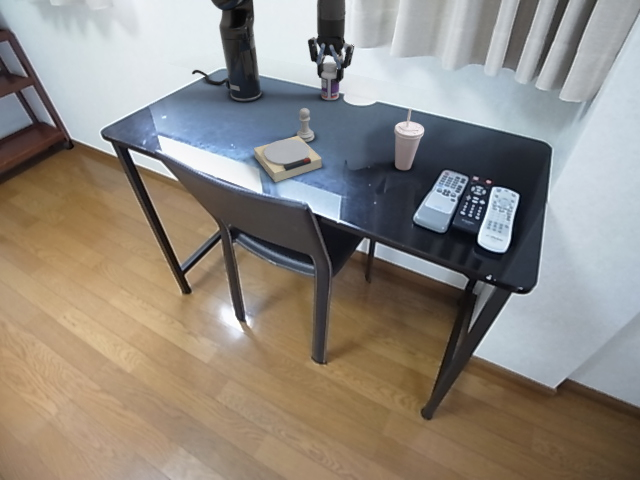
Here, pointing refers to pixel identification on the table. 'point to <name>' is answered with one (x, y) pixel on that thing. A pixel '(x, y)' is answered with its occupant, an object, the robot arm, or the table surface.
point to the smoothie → (407, 142)
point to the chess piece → (305, 126)
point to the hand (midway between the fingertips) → (330, 79)
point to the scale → (287, 158)
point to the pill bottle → (329, 82)
